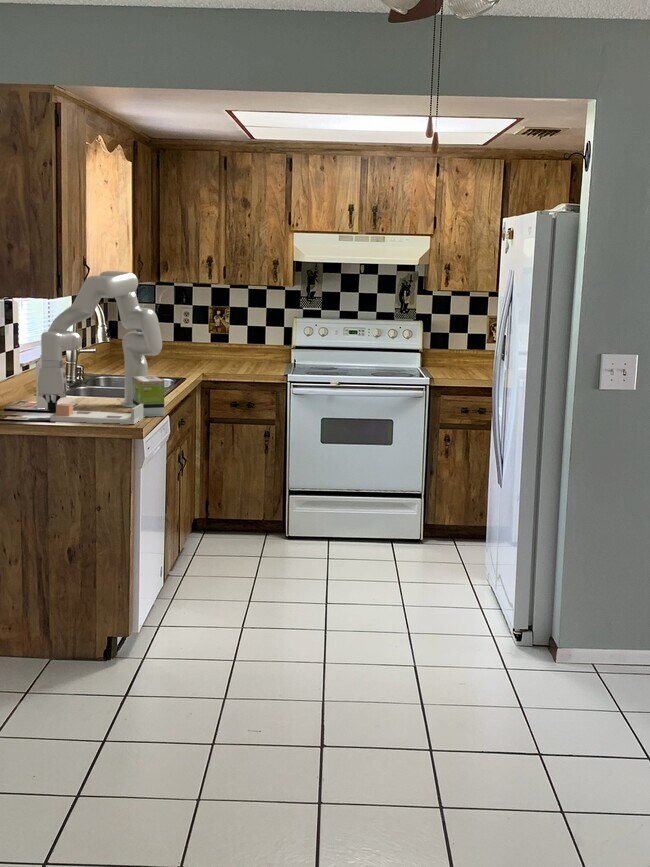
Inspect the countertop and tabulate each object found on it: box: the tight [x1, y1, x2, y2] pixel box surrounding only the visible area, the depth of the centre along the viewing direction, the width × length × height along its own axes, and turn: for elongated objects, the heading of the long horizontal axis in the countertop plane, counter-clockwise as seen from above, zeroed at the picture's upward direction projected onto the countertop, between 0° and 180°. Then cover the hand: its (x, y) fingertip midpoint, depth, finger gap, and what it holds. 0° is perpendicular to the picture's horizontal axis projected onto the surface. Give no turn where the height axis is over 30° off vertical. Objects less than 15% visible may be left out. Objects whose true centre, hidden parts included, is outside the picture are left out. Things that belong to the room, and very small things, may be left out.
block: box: [55, 402, 74, 416], centre depth 363 cm, size 5×5×4 cm
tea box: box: [132, 375, 165, 418], centre depth 385 cm, size 15×10×15 cm
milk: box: [35, 354, 59, 409], centre depth 387 cm, size 6×6×22 cm
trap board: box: [49, 404, 144, 425], centre depth 366 cm, size 15×32×6 cm, turn 87°
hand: (52, 412), depth 363 cm, fingers closed
